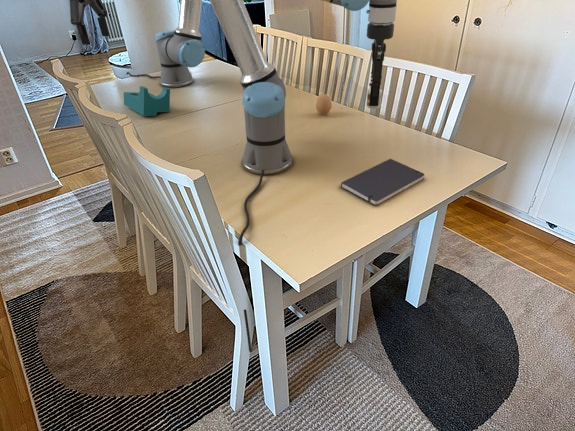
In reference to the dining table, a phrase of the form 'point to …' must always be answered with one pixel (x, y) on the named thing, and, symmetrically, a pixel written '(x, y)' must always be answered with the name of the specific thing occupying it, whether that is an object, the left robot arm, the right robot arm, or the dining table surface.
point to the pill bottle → (369, 99)
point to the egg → (323, 104)
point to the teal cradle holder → (148, 101)
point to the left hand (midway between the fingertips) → (96, 40)
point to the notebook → (382, 181)
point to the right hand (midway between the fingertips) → (373, 102)
